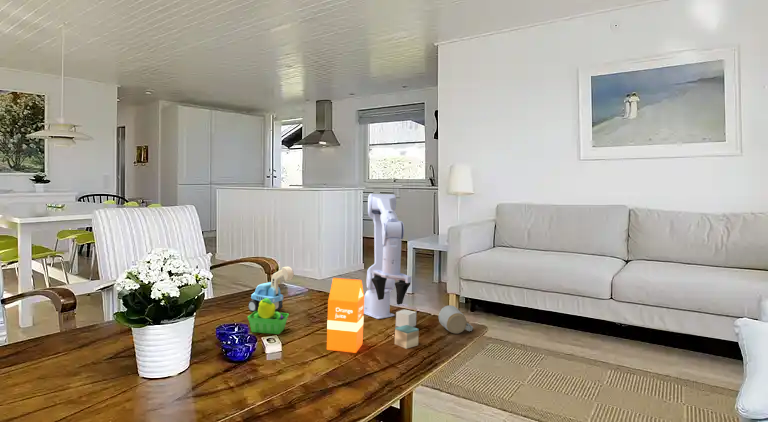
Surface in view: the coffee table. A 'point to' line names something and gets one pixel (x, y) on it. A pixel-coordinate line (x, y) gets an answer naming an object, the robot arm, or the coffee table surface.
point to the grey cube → (405, 318)
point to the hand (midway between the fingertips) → (390, 301)
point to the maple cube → (406, 336)
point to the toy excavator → (271, 290)
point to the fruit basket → (267, 318)
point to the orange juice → (345, 315)
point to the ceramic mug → (453, 320)
